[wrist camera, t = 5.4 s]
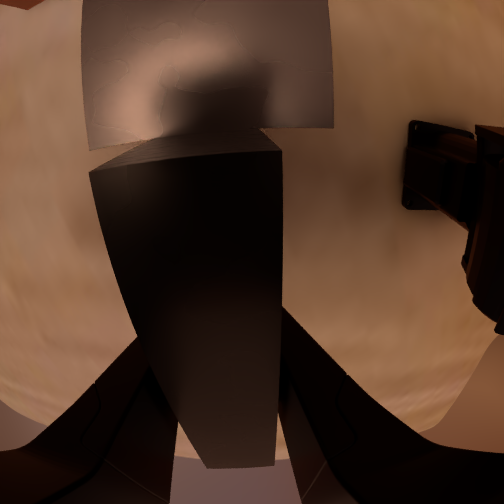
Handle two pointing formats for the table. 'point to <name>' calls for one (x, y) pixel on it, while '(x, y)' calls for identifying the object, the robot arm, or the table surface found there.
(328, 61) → the turner
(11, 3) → the tile
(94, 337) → the table surface
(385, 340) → the table surface
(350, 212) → the table surface
